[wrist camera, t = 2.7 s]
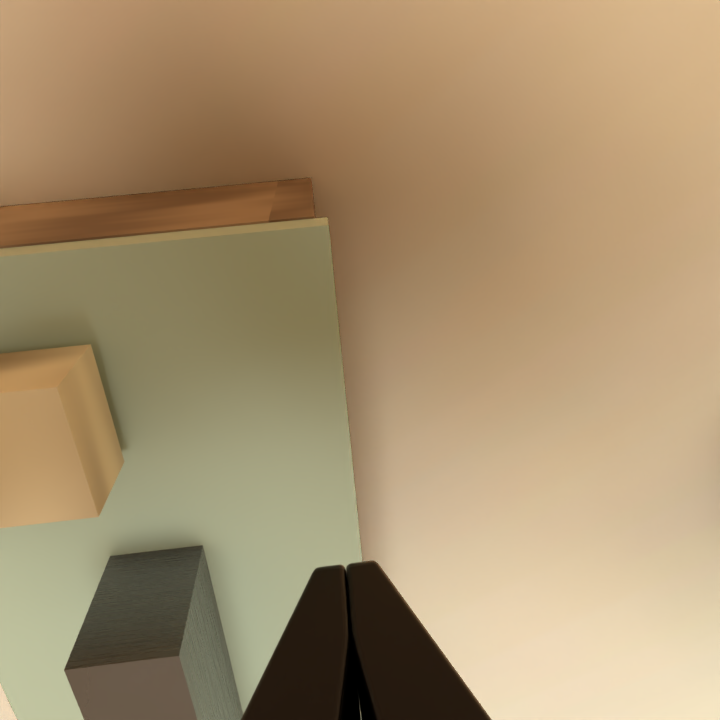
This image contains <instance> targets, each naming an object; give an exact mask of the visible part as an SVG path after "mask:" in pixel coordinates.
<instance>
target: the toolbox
mask: <svg viewBox="0 0 720 720" xmlns="http://www.w3.org/2000/svg"><path fill="white" fill-rule="evenodd" d="M313 218H316V217H315V207H314V198H313V189H312V180H311V178H304V179H293V180H283V181H272V182H261V183H250V184H240V185H229V186H218V187H207V188H197V189H186V190H175V191H164V192H154V193H143V194H132V195H121V196H111V197H100V198H89V199H78V200H68V201H57V202H46V203H35V204H25V205H14V206H3V207H0V249H1V248H11V247H22V246H32V245H42V244H53V243H63V242H74V241H84V240H94V239H105V238H115V237H126V236H136V235H147V234H157V233H167V232H178V231H188V230H199V229H209V228H219V227H230V226H240V225H251V224H261V223H272V222H282V221H292V220H303V219H313Z"/></svg>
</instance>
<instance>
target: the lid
mask: <svg viewBox="0 0 720 720" xmlns="http://www.w3.org/2000/svg"><path fill="white" fill-rule="evenodd" d="M89 344H91V346H92V350H93V353H94V357H95V360H96V364H97V367H98V371H99V374H100V378H101V381H102V385H103V388H104V392H105V395H106V399H107V402H108V406H109V409H110V413H111V416H112V420H113V423H114V427H115V430H116V434H117V437H118V441H119V444H120V448H121V451H122V455H123V458H124V464H123V466H122V468H121V470H120V472H119V475H118V477H117V479H116V481H115V483H114V485H113V487H112V490H111V492H110V494H109V496H108V498H107V500H106V503H105V505H104V507H103V509H102V511H101V513H100V515H99V517H95V518H86V519H77V520H68V521H59V522H51V523H42V524H33V525H24V526H16V527H7V528H0V684H1V686H2V688H3V690H4V692H5V694H6V697H7V699H8V701H9V703H10V705H11V707H12V709H13V711H14V713H15V716H16V718H17V720H241V718H242V716H243V714H244V712H245V710H246V708H247V706H248V704H249V702H250V700H251V697H252V695H253V693H254V691H255V689H256V687H257V685H258V683H259V681H260V679H261V677H262V675H263V673H264V671H265V669H266V667H267V665H268V663H269V660H270V658H271V656H272V654H273V652H274V650H275V648H276V646H277V644H278V642H279V640H280V638H281V636H282V634H283V632H284V630H285V628H286V626H287V624H288V621H289V619H290V617H291V615H292V613H293V611H294V609H295V607H296V605H297V603H298V601H299V599H300V597H301V595H302V593H303V591H304V589H305V587H306V584H307V582H308V580H309V578H310V576H311V574H312V572H313V571H314V569H316V568H317V567H323V566H331V565H339V564H340V565H343V566H344V567H345V569H346V567H347V565H348V564H350V563H356V562H362V552H361V542H360V532H359V522H358V512H357V502H356V492H355V482H354V472H353V462H352V452H351V442H350V432H349V422H348V412H347V402H346V392H345V382H344V372H343V362H342V352H341V342H340V331H339V321H338V311H337V301H336V291H335V281H334V271H333V261H332V251H331V241H330V231H329V223H328V217H324V218H313V219H303V220H292V221H282V222H272V223H261V224H251V225H240V226H230V227H219V228H209V229H199V230H188V231H178V232H167V233H157V234H147V235H136V236H126V237H115V238H105V239H94V240H84V241H74V242H63V243H53V244H42V245H32V246H22V247H11V248H1V249H0V354H1V353H11V352H20V351H30V350H40V349H50V348H59V347H69V346H79V345H89ZM360 714H361V711H360Z"/></svg>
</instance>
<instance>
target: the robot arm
mask: <svg viewBox="0 0 720 720" xmlns="http://www.w3.org/2000/svg"><path fill="white" fill-rule="evenodd" d="M360 711H361V714H360ZM241 720H491V718H490V717H489V715H488V714H487V713H486V711H485V710H484V709H483V707H482V706H481V704H480V703H479V702H478V700H477V699H476V698H475V696H474V695H473V693H472V692H471V691H470V689H469V688H468V687H467V685H466V684H465V682H464V681H463V680H462V678H461V677H460V676H459V674H458V673H457V671H456V670H455V669H454V667H453V666H452V665H451V663H450V662H449V660H448V659H447V658H446V656H445V655H444V654H443V652H442V651H441V649H440V648H439V647H438V645H437V644H436V643H435V641H434V640H433V638H432V637H431V636H430V634H429V633H428V632H427V630H426V629H425V627H424V626H423V625H422V623H421V622H420V620H419V619H418V618H417V616H416V615H415V614H414V612H413V611H412V609H411V608H410V607H409V605H408V604H407V603H406V601H405V600H404V598H403V597H402V596H401V594H400V593H399V592H398V590H397V589H396V587H395V586H394V585H393V583H392V582H391V581H390V579H389V578H388V576H387V575H386V574H385V572H384V571H383V570H382V568H381V567H380V565H379V564H378V563H377V562H375V561H364V562H356V563H350V564H348V565H347V567H346V569H345V567H344V566H343V565H340V564H339V565H331V566H323V567H317V568H316V569H314V571H313V572H312V574H311V576H310V578H309V580H308V582H307V584H306V587H305V589H304V591H303V593H302V595H301V597H300V599H299V601H298V603H297V605H296V607H295V609H294V611H293V613H292V615H291V617H290V619H289V621H288V624H287V626H286V628H285V630H284V632H283V634H282V636H281V638H280V640H279V642H278V644H277V646H276V648H275V650H274V652H273V654H272V656H271V658H270V660H269V663H268V665H267V667H266V669H265V671H264V673H263V675H262V677H261V679H260V681H259V683H258V685H257V687H256V689H255V691H254V693H253V695H252V697H251V700H250V702H249V704H248V706H247V708H246V710H245V712H244V714H243V716H242V718H241Z"/></svg>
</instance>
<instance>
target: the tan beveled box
mask: <svg viewBox="0 0 720 720" xmlns="http://www.w3.org/2000/svg"><path fill="white" fill-rule="evenodd" d="M123 464H124V458H123V455H122V451H121V448H120V444H119V441H118V437H117V434H116V430H115V427H114V423H113V420H112V416H111V413H110V409H109V406H108V402H107V399H106V395H105V392H104V388H103V385H102V381H101V378H100V374H99V371H98V367H97V364H96V360H95V357H94V353H93V350H92V346H91V344H89V345H79V346H69V347H59V348H50V349H40V350H30V351H20V352H11V353H1V354H0V528H7V527H16V526H24V525H33V524H42V523H51V522H59V521H68V520H77V519H86V518H95V517H99V515H100V513H101V511H102V509H103V507H104V505H105V503H106V500H107V498H108V496H109V494H110V492H111V490H112V487H113V485H114V483H115V481H116V479H117V477H118V475H119V472H120V470H121V468H122V466H123Z"/></svg>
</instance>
